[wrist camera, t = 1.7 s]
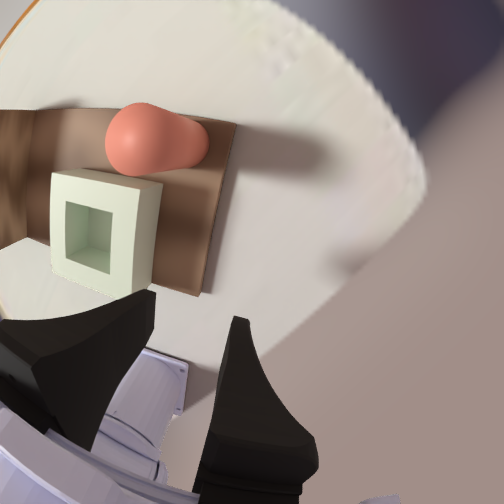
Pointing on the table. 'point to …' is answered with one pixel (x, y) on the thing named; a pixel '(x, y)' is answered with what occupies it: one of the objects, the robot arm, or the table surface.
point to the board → (95, 158)
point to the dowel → (154, 140)
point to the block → (103, 230)
